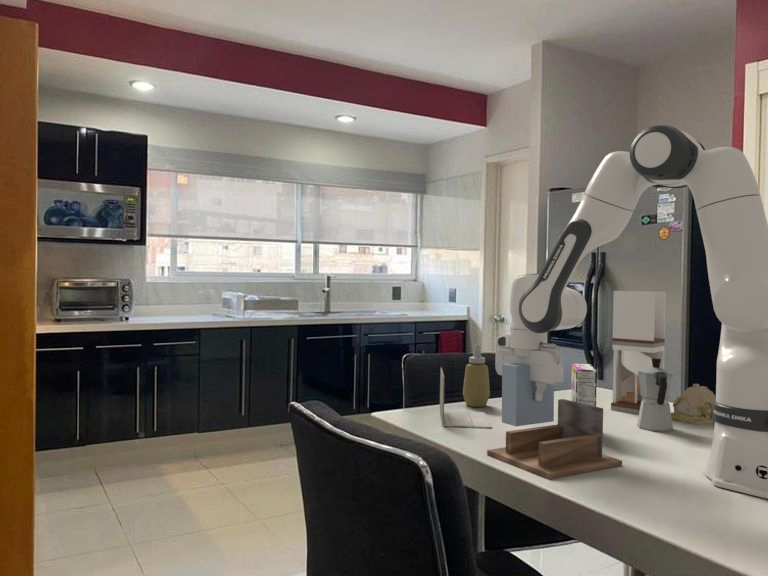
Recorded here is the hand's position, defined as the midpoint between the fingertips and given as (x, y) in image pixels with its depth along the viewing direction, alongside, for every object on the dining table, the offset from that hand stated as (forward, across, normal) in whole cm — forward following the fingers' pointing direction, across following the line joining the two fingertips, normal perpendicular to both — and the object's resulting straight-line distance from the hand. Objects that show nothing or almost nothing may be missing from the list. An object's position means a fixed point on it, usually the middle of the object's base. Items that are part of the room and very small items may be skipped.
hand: (528, 398), depth 147 cm
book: (+6, 0, 0) cm, 6 cm away
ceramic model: (+10, -7, -55) cm, 57 cm away
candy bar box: (+9, -4, -14) cm, 17 cm away
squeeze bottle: (+8, +34, -11) cm, 36 cm away
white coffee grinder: (+9, +9, -51) cm, 52 cm away
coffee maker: (+9, -9, -35) cm, 37 cm away
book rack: (+9, -18, +10) cm, 23 cm away
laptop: (+9, +20, +4) cm, 22 cm away
